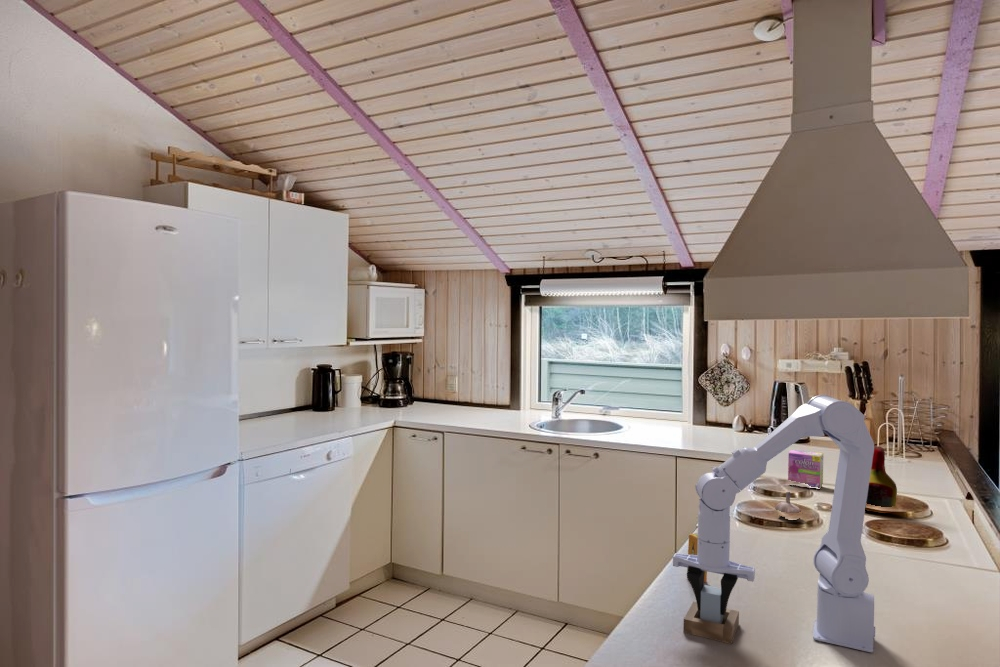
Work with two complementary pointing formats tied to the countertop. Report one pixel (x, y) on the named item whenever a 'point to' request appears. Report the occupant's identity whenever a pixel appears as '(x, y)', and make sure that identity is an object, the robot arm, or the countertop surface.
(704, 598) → the peg
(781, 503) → the garlic bulb
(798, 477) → the box
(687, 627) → the walnut holder
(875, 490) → the bottle
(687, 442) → the countertop surface
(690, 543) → the supplement box
